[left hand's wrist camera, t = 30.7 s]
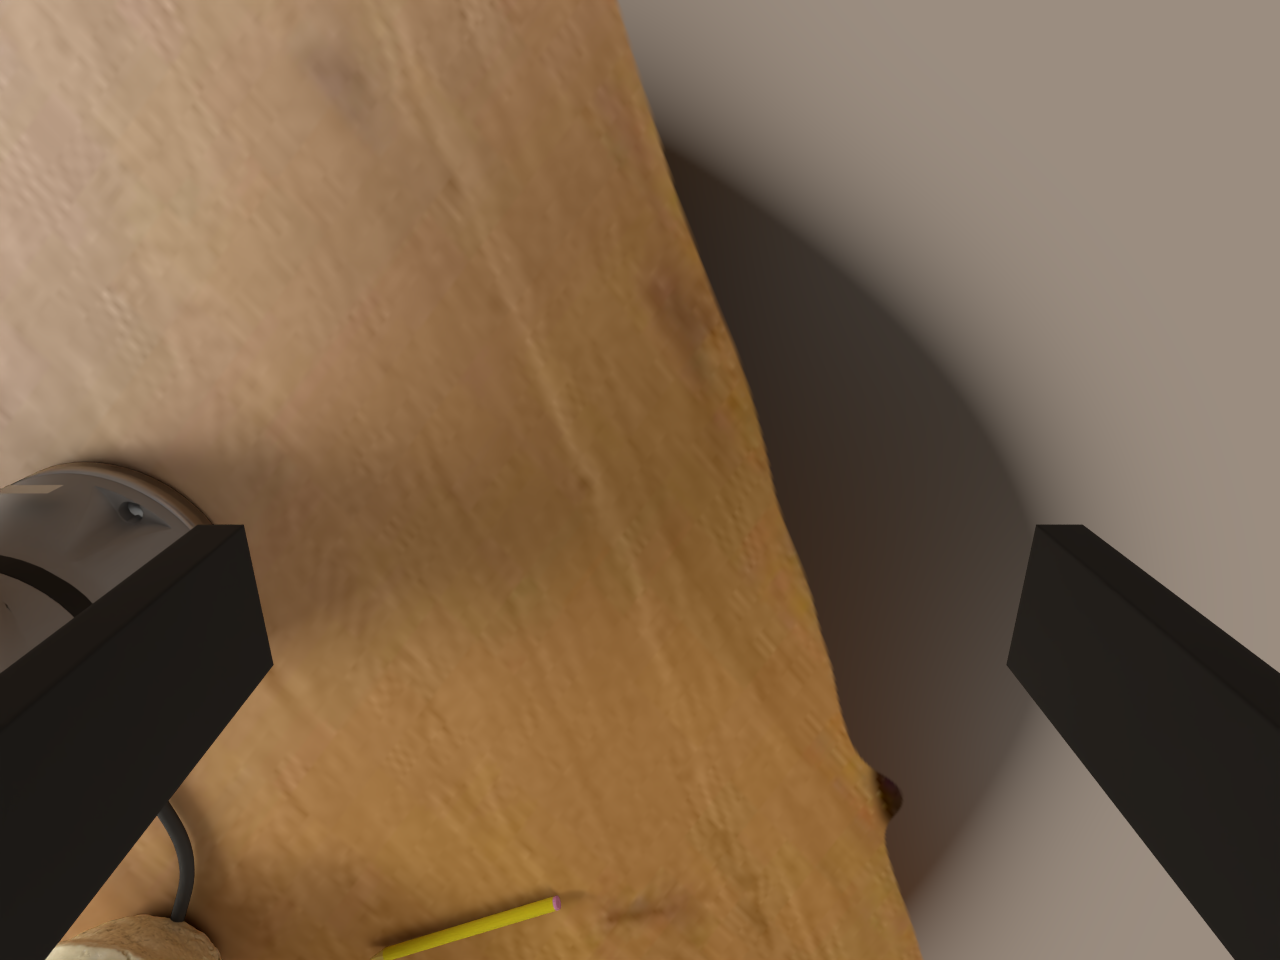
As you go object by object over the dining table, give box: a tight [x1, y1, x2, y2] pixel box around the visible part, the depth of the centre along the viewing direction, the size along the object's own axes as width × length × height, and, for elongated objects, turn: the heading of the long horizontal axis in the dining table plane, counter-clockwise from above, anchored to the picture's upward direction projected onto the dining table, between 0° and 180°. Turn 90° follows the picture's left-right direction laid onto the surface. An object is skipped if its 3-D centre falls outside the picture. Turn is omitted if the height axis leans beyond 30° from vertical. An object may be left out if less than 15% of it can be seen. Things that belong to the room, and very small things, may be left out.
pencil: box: [371, 896, 561, 960], centre depth 58 cm, size 16×1×1 cm, turn 112°
